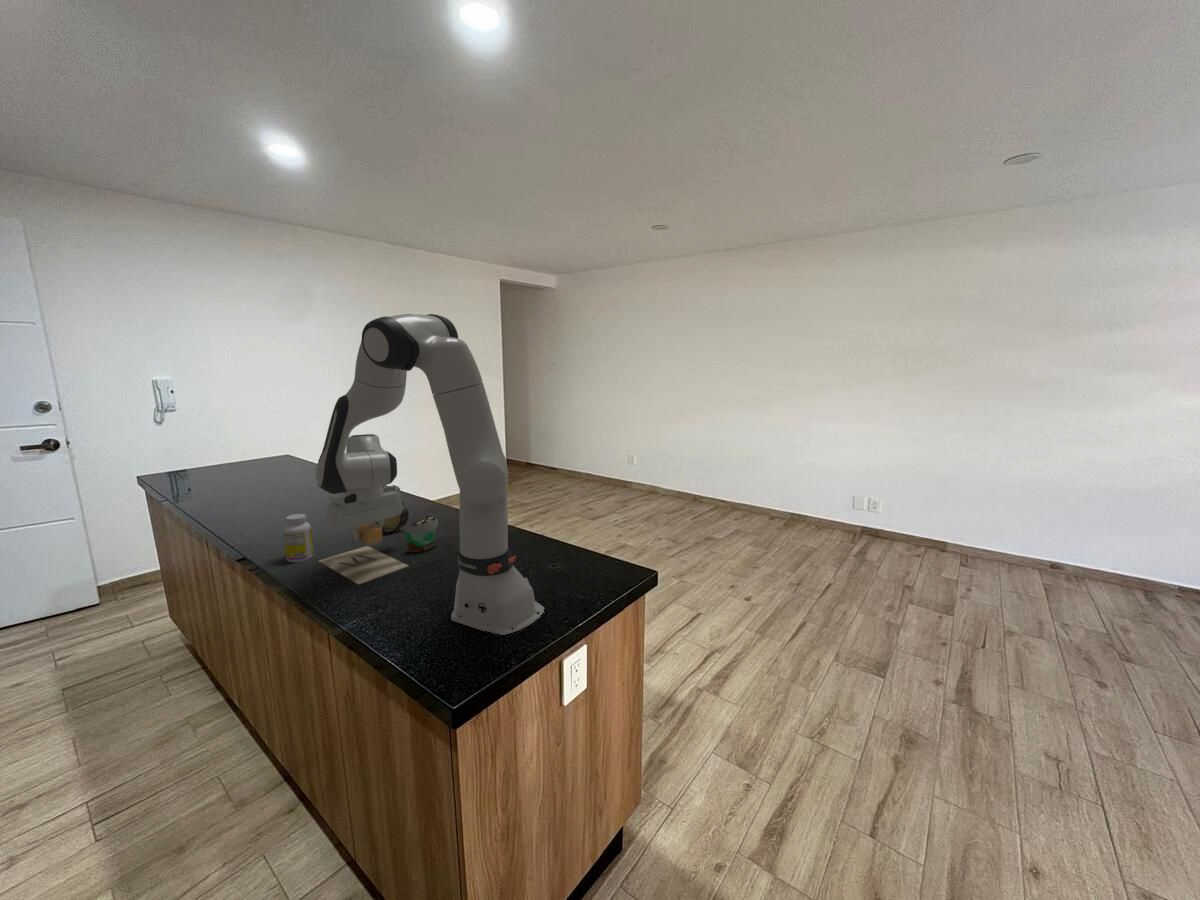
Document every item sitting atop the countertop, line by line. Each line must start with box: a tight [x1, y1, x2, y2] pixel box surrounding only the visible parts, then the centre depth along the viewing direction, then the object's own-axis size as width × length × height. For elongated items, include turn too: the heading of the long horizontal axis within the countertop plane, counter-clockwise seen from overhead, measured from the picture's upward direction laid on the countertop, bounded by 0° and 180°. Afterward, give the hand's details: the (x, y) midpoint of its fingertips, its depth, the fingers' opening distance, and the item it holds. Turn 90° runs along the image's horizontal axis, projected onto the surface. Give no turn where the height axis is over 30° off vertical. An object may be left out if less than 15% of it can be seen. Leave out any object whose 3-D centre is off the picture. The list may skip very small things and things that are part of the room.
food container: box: [404, 513, 439, 553], centre depth 139 cm, size 12×6×10 cm, turn 168°
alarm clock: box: [374, 500, 409, 533], centre depth 152 cm, size 11×5×16 cm, turn 76°
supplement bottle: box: [282, 513, 314, 563], centre depth 130 cm, size 7×7×13 cm
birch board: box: [318, 545, 409, 585], centre depth 127 cm, size 22×14×2 cm, turn 55°
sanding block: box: [352, 523, 383, 547], centre depth 129 cm, size 8×4×4 cm, turn 56°
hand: (367, 537), depth 129 cm, fingers closed on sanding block, 4 cm apart
